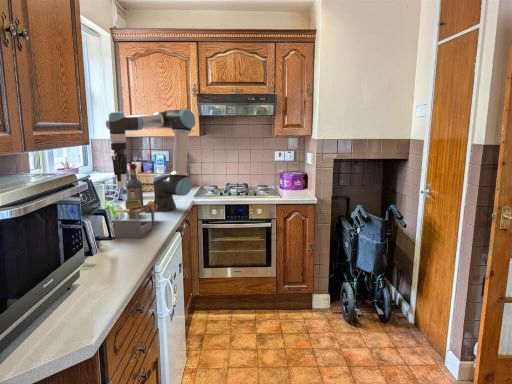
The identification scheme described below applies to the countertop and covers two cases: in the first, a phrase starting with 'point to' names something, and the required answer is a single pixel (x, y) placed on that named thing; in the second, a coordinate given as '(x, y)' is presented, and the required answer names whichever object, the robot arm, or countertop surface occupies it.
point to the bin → (131, 228)
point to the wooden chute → (139, 209)
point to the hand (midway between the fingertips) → (122, 186)
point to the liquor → (134, 187)
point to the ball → (150, 203)
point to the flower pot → (132, 204)
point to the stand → (151, 217)
